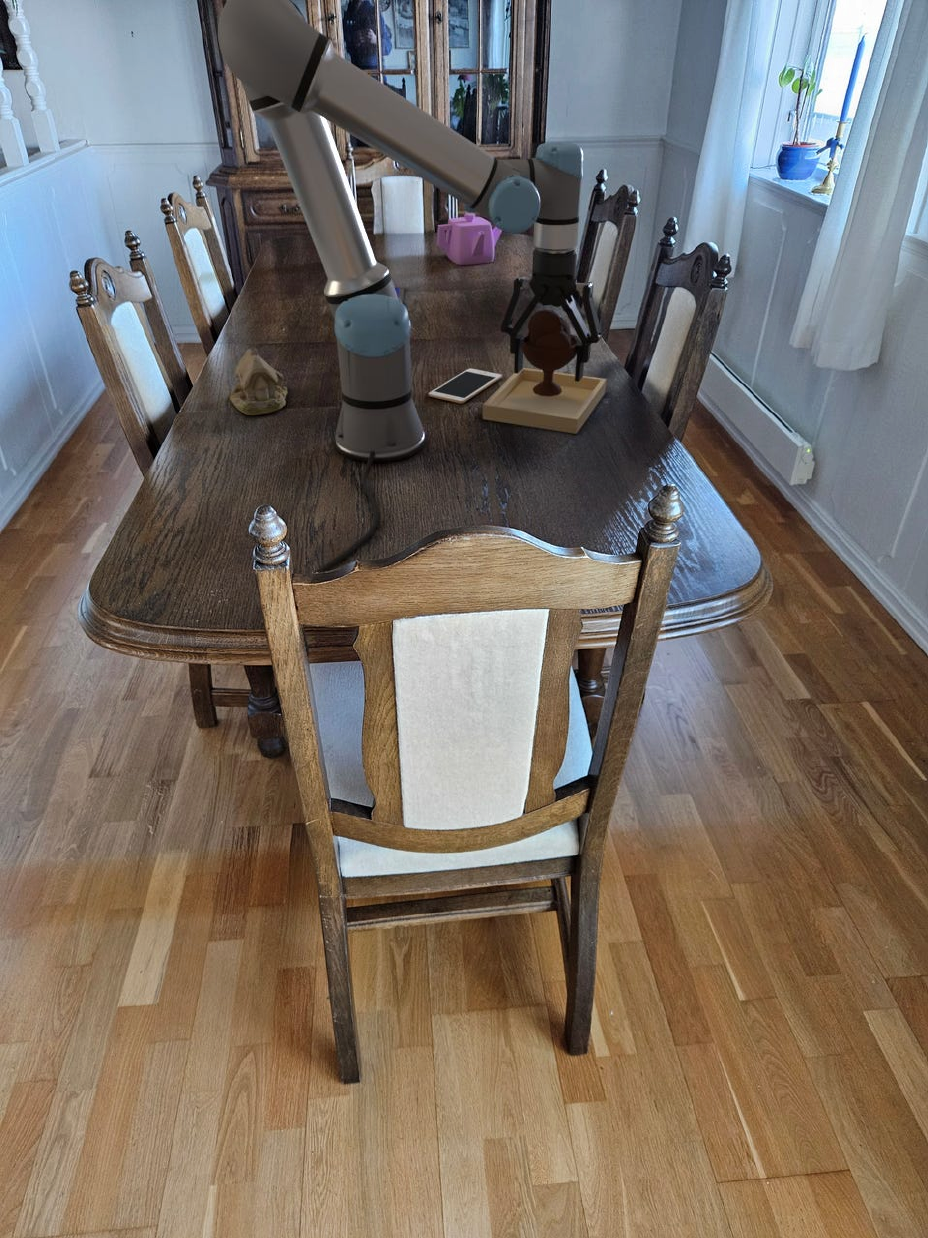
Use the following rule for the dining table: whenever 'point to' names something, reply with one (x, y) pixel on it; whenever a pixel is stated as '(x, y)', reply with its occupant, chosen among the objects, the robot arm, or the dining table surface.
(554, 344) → the ice cream bowl
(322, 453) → the dining table surface
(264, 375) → the ceramic model
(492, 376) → the cell phone
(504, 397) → the tray
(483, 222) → the teakettle
